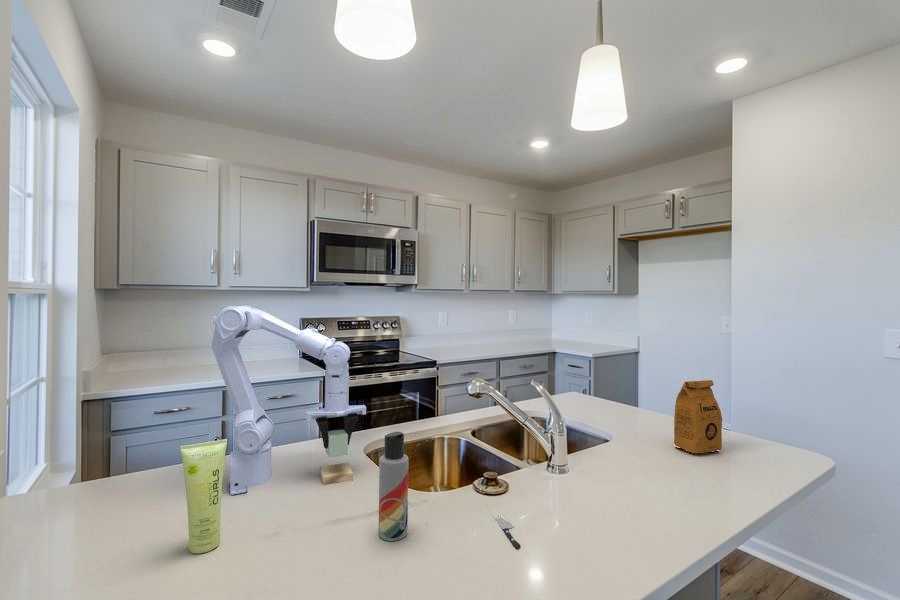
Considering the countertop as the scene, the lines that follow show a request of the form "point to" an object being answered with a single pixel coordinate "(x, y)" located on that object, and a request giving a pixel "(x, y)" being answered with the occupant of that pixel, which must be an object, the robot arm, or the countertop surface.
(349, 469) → the tower top
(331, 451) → the sage block
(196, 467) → the tube
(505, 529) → the chef's knife
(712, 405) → the coffee package
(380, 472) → the lotion bottle
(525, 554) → the countertop surface
